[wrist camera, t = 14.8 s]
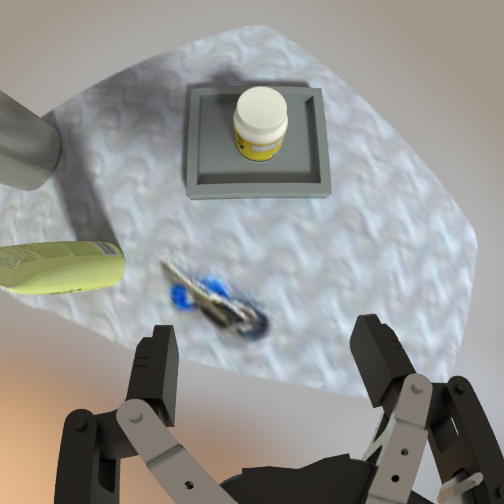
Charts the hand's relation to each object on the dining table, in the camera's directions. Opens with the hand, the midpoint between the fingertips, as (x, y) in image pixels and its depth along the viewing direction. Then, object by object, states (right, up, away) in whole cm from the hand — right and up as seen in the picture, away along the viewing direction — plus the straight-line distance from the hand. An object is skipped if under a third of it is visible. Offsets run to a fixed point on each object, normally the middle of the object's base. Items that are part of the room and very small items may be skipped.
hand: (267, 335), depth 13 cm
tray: (0, +15, +18) cm, 24 cm away
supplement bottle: (0, +15, +18) cm, 23 cm away
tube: (-17, +2, +18) cm, 25 cm away
